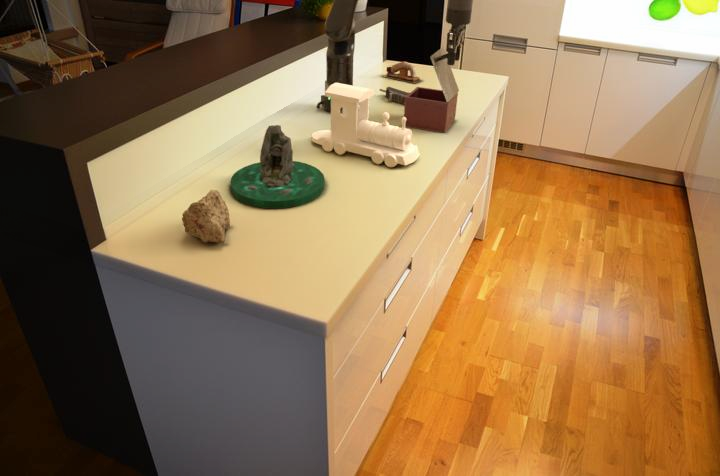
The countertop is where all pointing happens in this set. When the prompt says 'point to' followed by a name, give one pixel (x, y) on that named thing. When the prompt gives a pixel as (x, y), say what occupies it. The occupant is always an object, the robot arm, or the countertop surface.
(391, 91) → the toy gun
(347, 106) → the toy train
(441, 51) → the lid
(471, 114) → the countertop surface
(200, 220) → the rock
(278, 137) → the diorama
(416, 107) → the open wooden cubby
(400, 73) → the sculpture
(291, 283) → the countertop surface
